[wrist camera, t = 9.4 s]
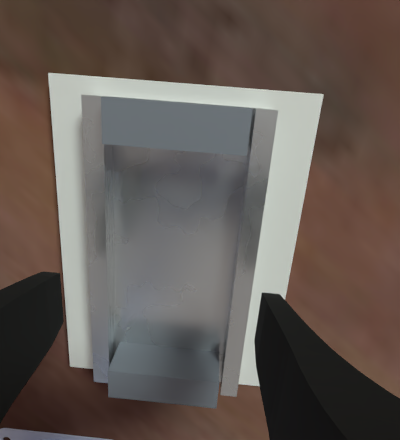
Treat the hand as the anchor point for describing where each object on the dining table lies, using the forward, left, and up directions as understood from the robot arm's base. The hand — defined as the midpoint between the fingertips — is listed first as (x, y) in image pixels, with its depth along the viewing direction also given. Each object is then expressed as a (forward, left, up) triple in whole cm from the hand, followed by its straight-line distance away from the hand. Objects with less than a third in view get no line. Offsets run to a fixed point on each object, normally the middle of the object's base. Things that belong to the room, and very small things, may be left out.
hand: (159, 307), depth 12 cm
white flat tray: (0, 0, -5) cm, 5 cm away
